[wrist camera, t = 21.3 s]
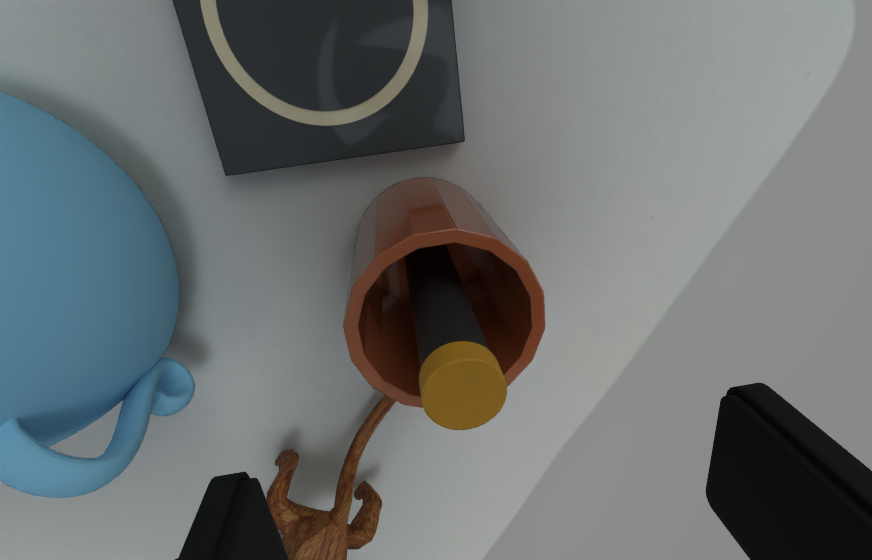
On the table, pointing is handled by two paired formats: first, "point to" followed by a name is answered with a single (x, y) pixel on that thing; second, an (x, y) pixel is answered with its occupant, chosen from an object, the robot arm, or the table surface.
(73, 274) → the teapot
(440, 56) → the slate
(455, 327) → the marker
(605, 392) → the table surface
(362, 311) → the pen cup
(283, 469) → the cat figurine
